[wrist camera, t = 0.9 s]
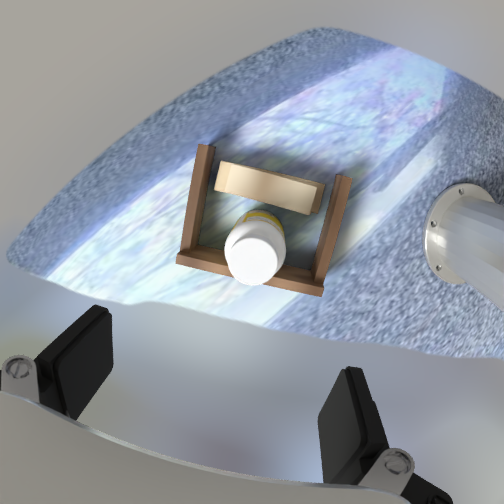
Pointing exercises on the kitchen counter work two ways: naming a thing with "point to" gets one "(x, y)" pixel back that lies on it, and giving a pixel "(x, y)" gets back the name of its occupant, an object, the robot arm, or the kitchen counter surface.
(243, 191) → the top offcut
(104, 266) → the kitchen counter surface
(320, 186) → the bottom offcut
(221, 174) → the middle offcut
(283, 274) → the walnut rack
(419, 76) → the kitchen counter surface
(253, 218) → the supplement bottle
